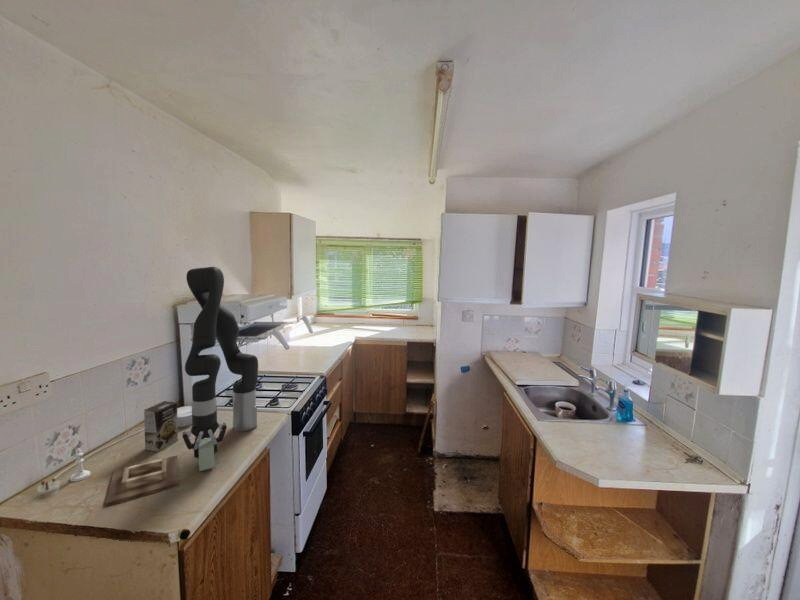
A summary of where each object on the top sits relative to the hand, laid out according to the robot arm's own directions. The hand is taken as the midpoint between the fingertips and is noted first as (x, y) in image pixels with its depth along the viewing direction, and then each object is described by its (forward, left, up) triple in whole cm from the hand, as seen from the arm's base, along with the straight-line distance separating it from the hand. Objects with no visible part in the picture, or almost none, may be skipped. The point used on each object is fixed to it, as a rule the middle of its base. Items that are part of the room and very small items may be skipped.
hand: (205, 455), depth 119 cm
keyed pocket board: (+17, -2, -4) cm, 18 cm away
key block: (0, 0, -3) cm, 3 cm away
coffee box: (+13, -24, -5) cm, 28 cm away
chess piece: (+35, -14, -5) cm, 38 cm away
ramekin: (+5, -41, -5) cm, 42 cm away
